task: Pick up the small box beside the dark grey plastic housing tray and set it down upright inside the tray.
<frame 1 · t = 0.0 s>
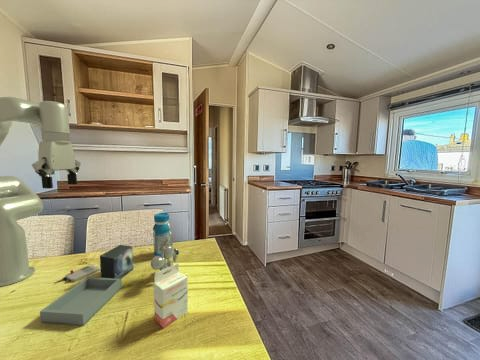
hand: (61, 186, 75), 37 cm above the table, tool pointing down, fingers open, 9 cm apart
robot toy: (166, 278, 82), on the table
small box: (118, 275, 83), on the table
ink cartridge box: (172, 316, 62), on the table
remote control: (81, 276, 83), on the table
housing tray: (86, 303, 67), on the table
beverage bottle: (163, 254, 101), on the table
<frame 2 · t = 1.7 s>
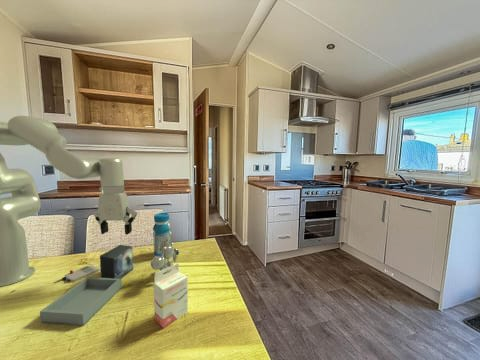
hand: (116, 233, 81), 18 cm above the table, tool pointing down, fingers open, 9 cm apart
nothing on the table moved.
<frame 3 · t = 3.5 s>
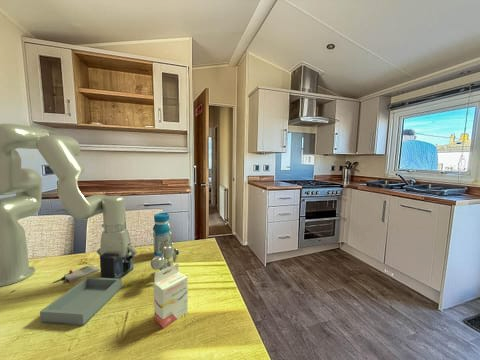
hand: (118, 269, 83), 2 cm above the table, tool pointing down, fingers closed on small box, 6 cm apart
small box: (118, 275, 83), on the table, touching gripper
everything else where it was.
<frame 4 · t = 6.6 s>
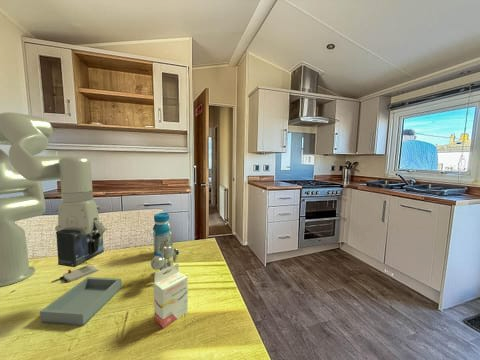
hand: (82, 251, 66), 18 cm above the table, tool pointing down, fingers closed on small box, 6 cm apart
small box: (82, 259, 66), point 15 cm above the table, touching gripper
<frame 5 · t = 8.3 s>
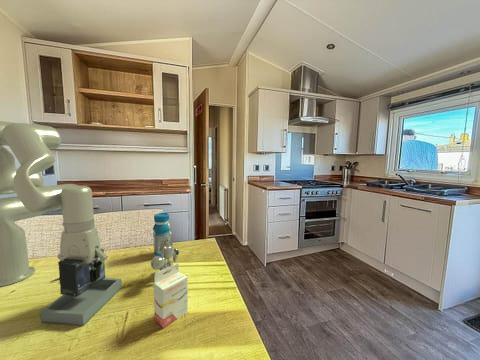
hand: (84, 279, 66), 8 cm above the table, tool pointing down, fingers closed on small box, 6 cm apart
small box: (84, 286, 67), point 6 cm above the table, touching gripper
when the fingers open (5 cm above the table, at t = 9.6 s): small box drops 2 cm, resting on housing tray.
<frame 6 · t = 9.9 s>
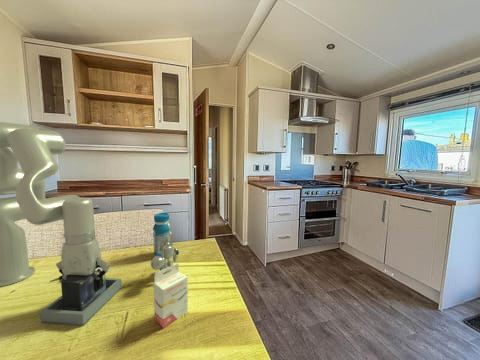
hand: (85, 288, 67), 5 cm above the table, tool pointing down, fingers open, 9 cm apart
small box: (86, 302, 67), resting on housing tray
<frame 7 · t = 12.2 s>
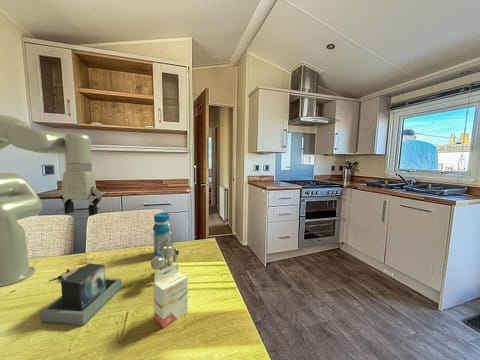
hand: (81, 213, 77), 26 cm above the table, tool pointing down, fingers open, 9 cm apart
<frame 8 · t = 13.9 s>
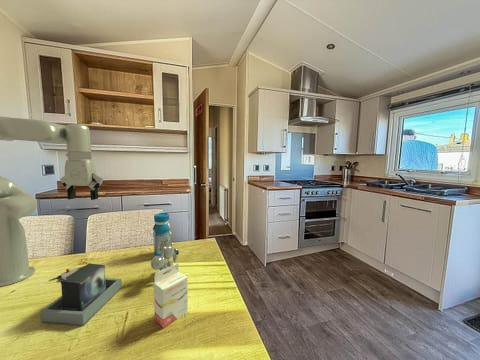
hand: (83, 199, 84), 30 cm above the table, tool pointing down, fingers open, 9 cm apart
at the end: small box 0.2 cm off-centre on the housing tray, point 0.3 cm above the housing tray's base; small box tilted 0°; the gripper is holding nothing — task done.
